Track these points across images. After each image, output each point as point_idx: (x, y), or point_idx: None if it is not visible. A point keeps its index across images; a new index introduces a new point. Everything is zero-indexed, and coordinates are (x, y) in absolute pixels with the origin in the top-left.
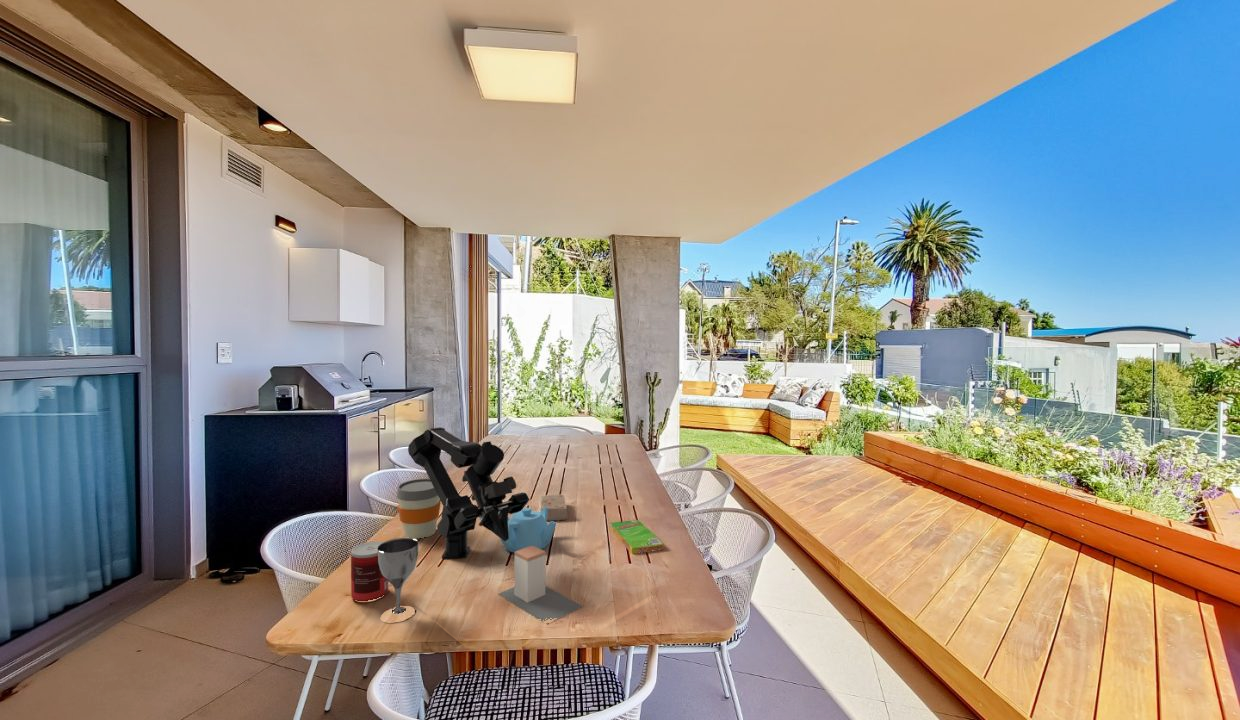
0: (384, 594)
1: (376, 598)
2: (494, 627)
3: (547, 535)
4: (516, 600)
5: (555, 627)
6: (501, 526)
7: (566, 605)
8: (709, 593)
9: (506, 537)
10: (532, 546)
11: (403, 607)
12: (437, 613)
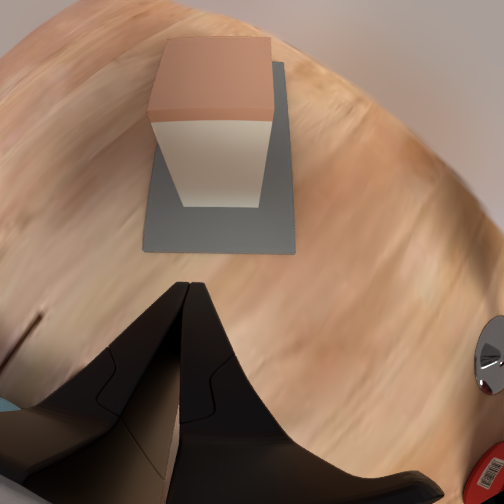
0: (486, 455)
1: (500, 443)
2: (373, 139)
3: None
4: (274, 175)
5: None
6: (194, 350)
7: None
8: (37, 29)
9: (195, 284)
10: (156, 100)
11: (495, 365)
12: (452, 296)
